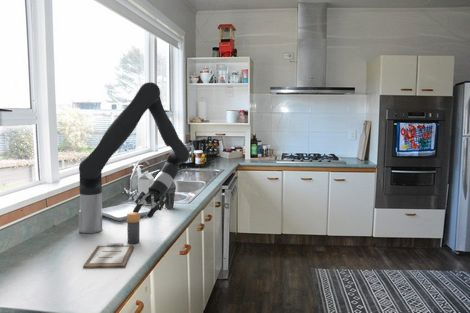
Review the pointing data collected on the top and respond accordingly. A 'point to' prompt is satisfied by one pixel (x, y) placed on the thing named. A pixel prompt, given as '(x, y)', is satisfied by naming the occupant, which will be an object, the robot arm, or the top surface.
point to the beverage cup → (170, 196)
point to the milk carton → (144, 183)
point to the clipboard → (109, 256)
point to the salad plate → (122, 211)
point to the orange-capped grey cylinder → (133, 227)
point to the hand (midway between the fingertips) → (141, 215)
